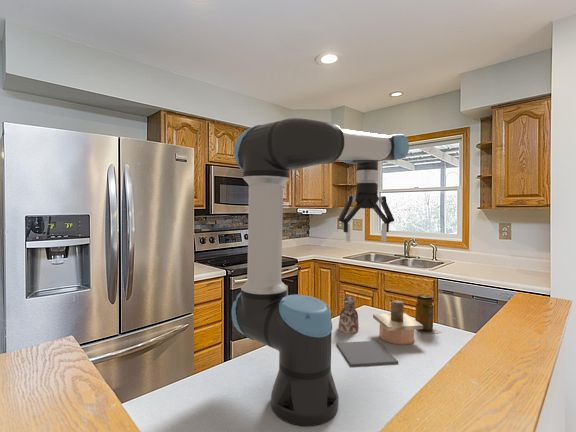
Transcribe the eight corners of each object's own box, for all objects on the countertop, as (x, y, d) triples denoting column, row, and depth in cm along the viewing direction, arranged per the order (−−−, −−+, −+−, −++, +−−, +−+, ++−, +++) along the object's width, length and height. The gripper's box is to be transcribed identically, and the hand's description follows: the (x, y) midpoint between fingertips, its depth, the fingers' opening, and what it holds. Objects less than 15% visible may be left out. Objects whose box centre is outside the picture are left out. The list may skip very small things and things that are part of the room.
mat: (350, 366, 90) (350, 364, 90) (336, 344, 104) (336, 342, 104) (398, 363, 92) (398, 361, 92) (377, 342, 106) (377, 340, 106)
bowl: (388, 345, 104) (388, 330, 103) (374, 331, 114) (374, 318, 114) (420, 343, 105) (420, 328, 105) (403, 330, 116) (404, 316, 116)
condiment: (426, 324, 123) (427, 293, 122) (441, 332, 114) (442, 299, 114) (409, 325, 121) (410, 294, 121) (423, 334, 113) (424, 300, 112)
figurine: (338, 332, 114) (338, 298, 113) (338, 325, 121) (339, 293, 120) (359, 333, 113) (359, 299, 112) (357, 326, 120) (358, 294, 119)
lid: (388, 330, 103) (388, 308, 103) (373, 317, 115) (373, 297, 114) (423, 329, 104) (423, 307, 104) (404, 316, 116) (405, 296, 116)
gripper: (394, 183, 122) (393, 239, 122) (330, 182, 118) (329, 240, 119) (404, 182, 114) (403, 242, 115) (336, 181, 111) (335, 242, 112)
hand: (365, 241), depth 117 cm, fingers open, 13 cm apart
